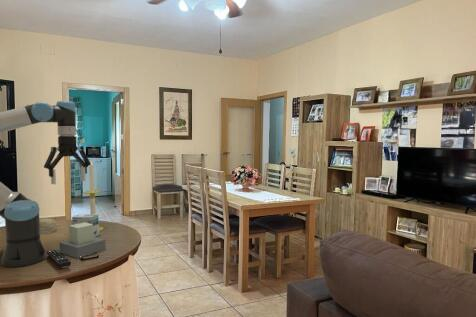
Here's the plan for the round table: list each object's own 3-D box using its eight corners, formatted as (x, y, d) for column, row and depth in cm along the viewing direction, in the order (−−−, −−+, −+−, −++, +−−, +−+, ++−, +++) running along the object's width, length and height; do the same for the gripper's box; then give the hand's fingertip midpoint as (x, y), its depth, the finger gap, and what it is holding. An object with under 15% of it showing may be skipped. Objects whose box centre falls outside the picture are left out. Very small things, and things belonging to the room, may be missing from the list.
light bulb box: (99, 234, 178) (99, 213, 177) (93, 238, 171) (92, 216, 170) (79, 234, 179) (79, 213, 178) (72, 238, 172) (71, 216, 172)
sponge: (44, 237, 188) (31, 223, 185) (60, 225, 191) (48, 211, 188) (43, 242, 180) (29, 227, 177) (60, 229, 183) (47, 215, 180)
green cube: (78, 244, 147) (77, 228, 146) (70, 241, 151) (69, 225, 150) (93, 240, 152) (93, 224, 152) (85, 237, 156) (85, 222, 156)
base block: (78, 259, 143) (77, 247, 143) (59, 254, 150) (59, 242, 149) (105, 250, 154) (105, 239, 154) (87, 246, 161) (86, 235, 160)
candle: (93, 233, 181) (90, 160, 179) (79, 230, 185) (76, 160, 183) (107, 228, 190) (105, 159, 188) (94, 226, 194) (91, 158, 192)
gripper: (41, 135, 147) (43, 186, 148) (97, 135, 166) (98, 180, 168) (34, 136, 151) (36, 184, 153) (89, 135, 171) (90, 179, 172)
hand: (68, 182), depth 160 cm, fingers open, 13 cm apart
